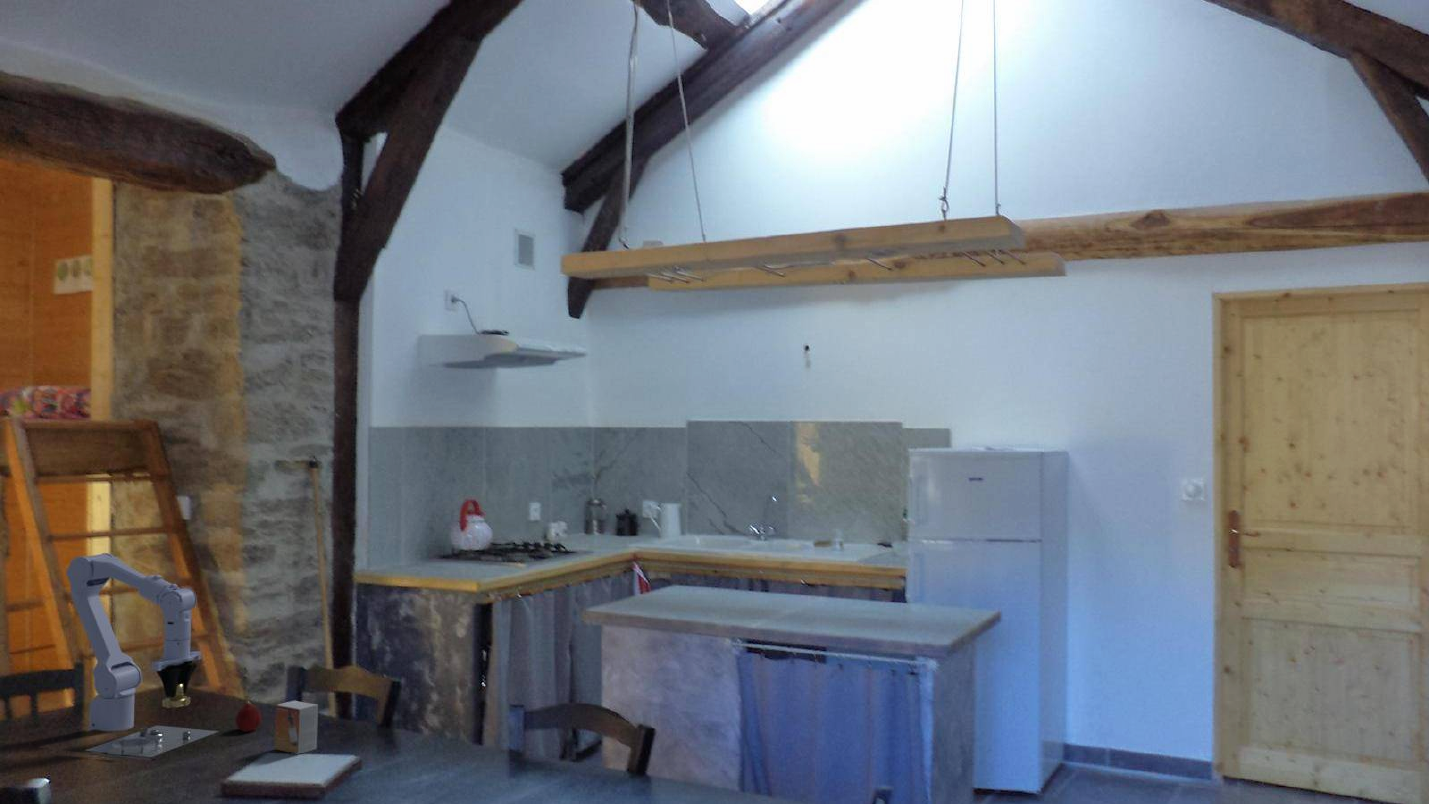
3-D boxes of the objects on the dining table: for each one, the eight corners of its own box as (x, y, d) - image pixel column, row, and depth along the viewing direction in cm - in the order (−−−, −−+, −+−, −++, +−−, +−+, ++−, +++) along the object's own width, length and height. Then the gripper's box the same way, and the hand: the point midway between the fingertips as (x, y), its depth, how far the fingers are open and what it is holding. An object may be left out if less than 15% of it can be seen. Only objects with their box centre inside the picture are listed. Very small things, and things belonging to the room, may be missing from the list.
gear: (156, 707, 262) (157, 686, 262) (174, 701, 268) (175, 680, 268) (178, 708, 261) (178, 687, 261) (195, 702, 267) (195, 681, 267)
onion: (265, 731, 269) (266, 698, 269) (253, 737, 263) (254, 704, 263) (243, 730, 269) (243, 698, 269) (230, 737, 263) (231, 703, 264)
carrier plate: (82, 755, 247) (82, 741, 247) (156, 729, 269) (156, 716, 269) (148, 762, 243) (149, 747, 243) (218, 735, 265) (219, 721, 265)
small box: (273, 750, 253) (275, 704, 253) (293, 744, 258) (294, 699, 258) (298, 755, 249) (299, 709, 250) (317, 749, 254) (318, 703, 255)
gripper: (169, 645, 257) (168, 703, 256) (212, 634, 271) (210, 689, 271) (144, 643, 259) (143, 701, 258) (188, 632, 273) (186, 687, 272)
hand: (176, 695), depth 264 cm, fingers closed on gear, 3 cm apart
